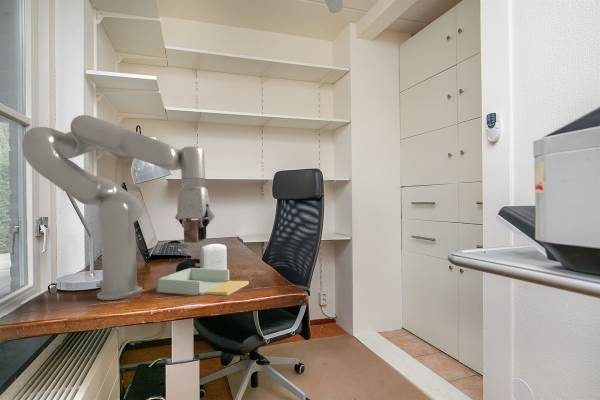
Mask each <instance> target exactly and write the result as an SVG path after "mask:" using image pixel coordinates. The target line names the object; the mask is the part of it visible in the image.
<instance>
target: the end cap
mask: <svg viewBox="0 0 600 400" xmlns="http://www.w3.org/2000/svg"><path fill="white" fill-rule="evenodd" d="M196 264H201V258H191V257H187V258H184V259H183V260H182V261H180V262H179V263H178V264H177V265H176V267H175V273H176V272H179V271H182V270H185V269H188V268H201V265H200V266H199V265H198V266H196Z"/></svg>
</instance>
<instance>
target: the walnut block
mask: <svg viewBox="0 0 600 400" xmlns="http://www.w3.org/2000/svg"><path fill="white" fill-rule="evenodd" d="M199 228H200V225H199V221H198V219H191V220H188V221H184V228H183V242H184V243H201V242H202V243H203V242H205V241H207V238H206V239H203V240H199Z"/></svg>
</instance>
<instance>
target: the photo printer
mask: <svg viewBox="0 0 600 400" xmlns="http://www.w3.org/2000/svg"><path fill="white" fill-rule="evenodd" d="M227 251H228V250H227V246H226V245H225V244H221V243H210V244H206V245H203V246H202V247H201V248H200V268H205V269H225V270H228V258H227V257H228V253H227Z"/></svg>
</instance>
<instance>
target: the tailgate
mask: <svg viewBox="0 0 600 400" xmlns="http://www.w3.org/2000/svg"><path fill="white" fill-rule="evenodd" d="M249 284H250V281H249V280H231V281H227V282H225V283H222V284H220V285H218V286H216V287H214V288H212V289H210V290H207V291H205V292H204V294H203V295H211V296H213V295H214V296H215V295H216V296H225V297H226V296H227V297H228V296H229V295H231V294H233V293H235V292H237V291H239V290H240V289H243V288H244V287H246V286H247V285H249Z"/></svg>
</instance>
